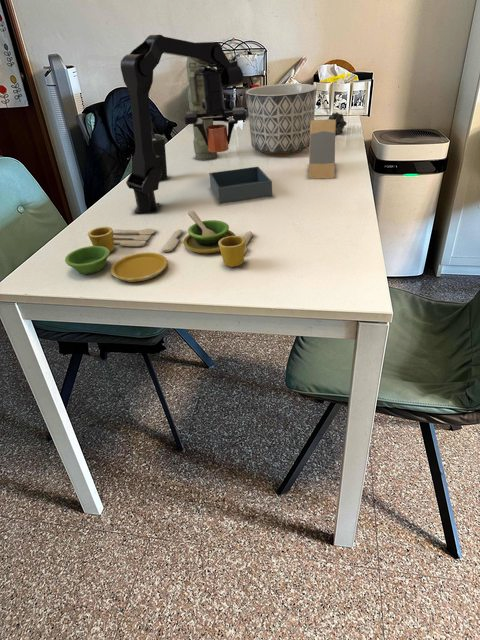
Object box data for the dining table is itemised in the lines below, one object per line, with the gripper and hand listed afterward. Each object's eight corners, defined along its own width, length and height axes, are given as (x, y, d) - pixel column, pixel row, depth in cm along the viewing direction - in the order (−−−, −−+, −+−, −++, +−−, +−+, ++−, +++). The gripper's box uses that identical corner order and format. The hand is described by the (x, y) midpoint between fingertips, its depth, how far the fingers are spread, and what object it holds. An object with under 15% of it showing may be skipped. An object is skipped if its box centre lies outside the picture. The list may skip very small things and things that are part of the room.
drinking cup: (167, 182, 154) (157, 120, 142) (146, 182, 155) (134, 120, 144) (174, 175, 160) (165, 115, 148) (154, 175, 161) (143, 115, 150)
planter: (275, 164, 163) (274, 97, 150) (236, 151, 181) (232, 91, 169) (328, 149, 174) (331, 86, 161) (287, 138, 192) (286, 81, 180)
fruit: (330, 106, 198) (330, 112, 185) (348, 112, 198) (349, 118, 186) (323, 126, 203) (323, 133, 190) (340, 132, 203) (341, 139, 191)
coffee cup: (228, 151, 142) (226, 128, 138) (208, 153, 142) (205, 129, 138) (228, 146, 147) (226, 123, 143) (209, 147, 147) (207, 125, 143)
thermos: (191, 161, 173) (178, 57, 153) (199, 153, 182) (188, 54, 162) (214, 161, 171) (203, 55, 151) (220, 152, 181) (211, 52, 161)
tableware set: (259, 234, 114) (258, 210, 110) (235, 290, 92) (233, 263, 89) (111, 229, 123) (105, 207, 119) (57, 280, 101) (48, 255, 97)
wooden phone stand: (308, 178, 147) (309, 130, 139) (309, 165, 160) (310, 119, 151) (335, 178, 146) (337, 129, 137) (333, 164, 158) (336, 118, 150)
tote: (272, 197, 135) (271, 181, 132) (219, 205, 133) (218, 188, 130) (258, 181, 148) (258, 166, 145) (210, 188, 146) (209, 172, 143)
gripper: (244, 84, 141) (247, 136, 150) (185, 89, 141) (191, 140, 150) (244, 90, 132) (247, 145, 141) (181, 94, 132) (188, 149, 141)
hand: (218, 144), depth 143 cm, fingers closed on coffee cup, 6 cm apart
